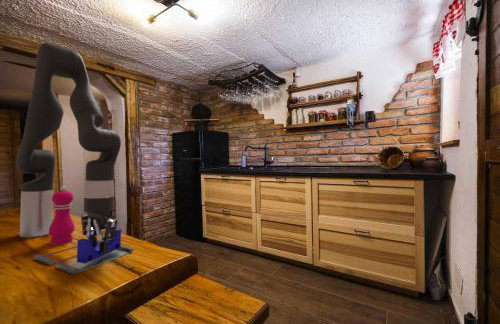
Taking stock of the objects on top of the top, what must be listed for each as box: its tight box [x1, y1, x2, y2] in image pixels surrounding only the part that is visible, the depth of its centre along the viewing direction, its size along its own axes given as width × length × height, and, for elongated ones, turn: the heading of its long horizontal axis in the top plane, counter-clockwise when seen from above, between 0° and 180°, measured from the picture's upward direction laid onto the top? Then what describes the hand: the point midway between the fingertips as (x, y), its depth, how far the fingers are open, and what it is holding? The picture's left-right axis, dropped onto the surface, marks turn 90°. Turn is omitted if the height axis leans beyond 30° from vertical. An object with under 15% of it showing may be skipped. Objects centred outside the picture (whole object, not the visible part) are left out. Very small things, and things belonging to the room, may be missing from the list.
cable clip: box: [76, 228, 122, 264], centre depth 68 cm, size 12×4×6 cm, turn 166°
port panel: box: [34, 238, 134, 276], centre depth 70 cm, size 21×17×1 cm
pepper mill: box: [48, 185, 76, 246], centre depth 82 cm, size 7×7×20 cm
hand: (97, 251), depth 68 cm, fingers closed on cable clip, 5 cm apart
